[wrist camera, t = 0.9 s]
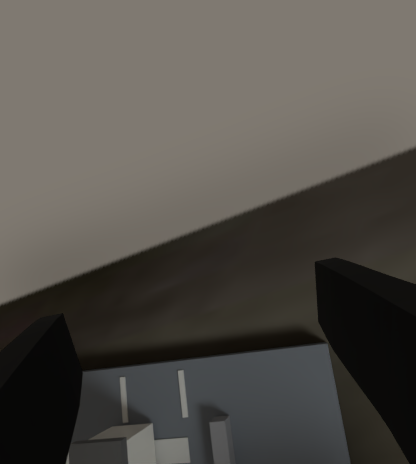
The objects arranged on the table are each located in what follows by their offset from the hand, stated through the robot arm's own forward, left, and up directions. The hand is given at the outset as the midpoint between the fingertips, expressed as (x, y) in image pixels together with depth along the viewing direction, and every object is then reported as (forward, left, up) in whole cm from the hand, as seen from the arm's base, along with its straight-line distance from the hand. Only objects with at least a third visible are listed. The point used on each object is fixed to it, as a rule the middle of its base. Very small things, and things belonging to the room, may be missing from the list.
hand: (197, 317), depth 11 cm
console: (-6, +7, -12) cm, 16 cm away
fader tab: (-6, +7, -11) cm, 14 cm away
